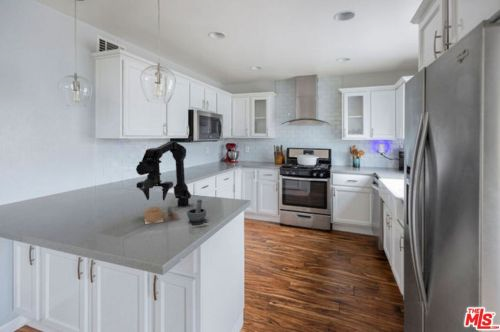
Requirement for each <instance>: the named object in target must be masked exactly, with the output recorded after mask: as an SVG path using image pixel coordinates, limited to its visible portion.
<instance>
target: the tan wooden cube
mask: <svg viewBox="0 0 500 332" xmlns="http://www.w3.org/2000/svg"><path fill="white" fill-rule="evenodd" d="M162 215H163V209H160V207H159V206H150V207H147V210H144V217H145V221H148V222H157V221H159V220H161V219H162Z"/></svg>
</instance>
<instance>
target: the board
mask: <svg viewBox="0 0 500 332" xmlns="http://www.w3.org/2000/svg"><path fill="white" fill-rule="evenodd" d="M142 218H143V225H145V226H146V225H152V224H159V223H160V224H161V223H167V222H175V221H181V219H180V216H179V215H178V213H177V212H173V206H170V205H169V206H167V213H165V214H163V213H162V219H161V220H159V221H157V222H148V221H145V216H143V217H142Z"/></svg>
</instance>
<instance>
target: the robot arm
mask: <svg viewBox="0 0 500 332" xmlns="http://www.w3.org/2000/svg"><path fill="white" fill-rule="evenodd" d="M167 152H170V153H171V154H172V158H173V160H174V161H175V174H176V175H175V176H176V184H175V185H174V182H173V181H164V182H162V180H161V176H162V173H161V171H160V164H162V160H161V158H162V157H163V155H164V154H166V153H167ZM186 157H187V148H185V146H184V145H182V144H179V142H177V141H175V140H173V141H172V140H171V141H170V140H169V141H167V142H166V143H164V144H161V145H160V146H157V147H151V148H147V149H145V153H144V155H143V157H142V159H141V161H139V162H138V164H137V165H136V168H135V171H136V173H137V174H138V175H139V176H144V175H147V176H146V178H145V180H141V181H138V182H137V183H136V185H135V186H136V189H138V190H141V191H142V192H143V194H144V196H145V198H146V200H147V201H149V200H150V189H153V188H154V187H161V192H162V201H163V202H164V201H165V200H166V197H167V194H168V192H169V190H170V189H172V188H173V193H174V194H173V195H174V197H175V199H177V200H176V202H177V203H176V205H177V207H186V206H187V207H188V206H189V203H190V201H189V199H191V197H192V193H191V192H190V191H189V188H188V185H187V183H186V182H185V166H184V165H185V162H184V161H185V159H186Z"/></svg>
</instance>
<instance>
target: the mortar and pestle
mask: <svg viewBox="0 0 500 332" xmlns="http://www.w3.org/2000/svg"><path fill="white" fill-rule="evenodd" d="M202 203H203V200H202V199H197V201H196V206H195V208H192V209H188V210H187V211H186V214H187V219H189V221H190V222H191V223H193V224H191V226H194V227H197V226H201V224H202V225H203V223H204V222H203V221H204V219H205V218H206V216H207V210H206V209H204V208H202Z"/></svg>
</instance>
